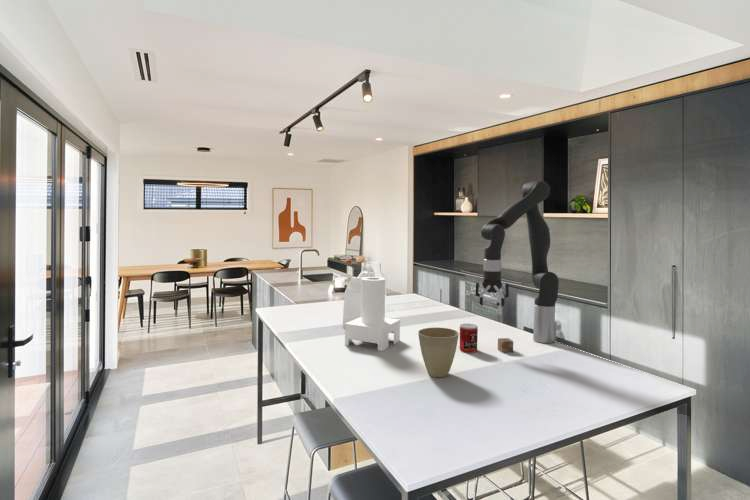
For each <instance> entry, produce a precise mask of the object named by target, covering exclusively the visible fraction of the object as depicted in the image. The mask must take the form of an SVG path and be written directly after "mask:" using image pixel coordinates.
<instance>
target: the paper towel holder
mask: <svg viewBox="0 0 750 500" xmlns="http://www.w3.org/2000/svg"><path fill="white" fill-rule="evenodd" d="M385 315H386V278H385V277H382V276H381V277H380V276H368V277H366V276H365V277H361V317H360V318H357V319H355V320H353V321H350V322H348V323H345V328H344V345H345V346H349V345H350V343H352V342H353V341H359V342H366V343H372V344H377V351H379V352H383V351H384V350H386V349H388V348H389V334H393V344H394V345H395V344H396V343H398V342H400V341H401V319H397V318H396V319H395V318H388V317H386V316H385Z"/></svg>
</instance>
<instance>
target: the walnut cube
mask: <svg viewBox="0 0 750 500" xmlns="http://www.w3.org/2000/svg"><path fill="white" fill-rule="evenodd" d="M497 350H498V351H499V352H501V354H503V353H504V354H505V353H506V354H507V353H514V340H513V339H511V338H509V337H507V338H506V337H505V338H504V337H503V338H497Z"/></svg>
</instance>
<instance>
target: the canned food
mask: <svg viewBox="0 0 750 500" xmlns="http://www.w3.org/2000/svg"><path fill="white" fill-rule="evenodd" d="M478 329H479V328H478V325H477V324H474V323H461V324H460V325H459V350H460V351H461V352H462V353H467V354H473V353H476V352H477V351H478V336H479V335H478V333H479V330H478Z"/></svg>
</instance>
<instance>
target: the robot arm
mask: <svg viewBox="0 0 750 500" xmlns="http://www.w3.org/2000/svg"><path fill="white" fill-rule="evenodd" d="M521 189H522V190H521V195H522V198H521V199H520V200H518V201H516V202H514V203H513V204H511V205H509V206H507V207H506V208H505V209H504V210H503V211H501V213H500V214H499V215H498V216H497V217H495V218H493V219H491V220H489V221H488V222H486V223H485V224H484V225H483V226H482V228H481V230H480V231H481V232H480V235H481V237H482V238H483V239H484V240H487V241H490V244H489V245H487V246H485V247H484V250H483V252H484V253H483V254H484V256H483V259H484V261H483V267H482V269H483V277H482V278H483V281H482V282H479V281H477V282H476V283H475V292H474V294H475V296H476V297H478V298H479V305H480V306H482V307H483V306H484V297H483V296H485V294H486V293H489V294H491V293H494V294H496V293H497V294H498V295H499V296H500V297H501V298H500V307H502V308H503V307H504V306H505V299H506V298H509V296H510V293H509V292H510V291H509V289H510V288H509V283H508V282H505V283H504V282H503V283H502V260H501V259H502V256H501V255H502V248H503V246H504V240H505V237H506V231H505V230H506V229H507V230H508V229H509V228H511V227H512V226H513V225H514V224H515V223H516V222H517V221H518V220H519V219H520V218H521V217H522V216H524V215H526V222H527V223H526V224H527V231H528V240H529V248H530V255H531V256H530V257H531V279H532V281H531V282H532V283H533V284H532V285H533V286H534V287H535V288H536V289H538V290H539V291H538V295H537V297H536V298H534V302H533V303H534V308H533V309H534V310H533V311H534V313H533V334H532V336H533V337H532V340H533V341H534V342H537V343H541V344H551V343H556V341H557V323H558V322H557V321H555V319H556V304H557V301H558V296H559V285H560V282H559V278H558V275H557V274H556V273H554V272H552V271H549V269H548V268H549V267H548V254H549V251H550V248H551V233H550V228H549V226H548V223H547V222H546V221H545V219H544V217H543V216H542V215H541V213H540V209H539V204H540V203H542V202H543V201H545V200H546V199H548V197H549V195H550V191H551V188H550V185H549V184H548V182H546V181H545V180H536V181H528V182H525V183H524V184H523V186H522V188H521ZM481 287H482V288H483V290H482V291H481V292H480V293H479V290H480V288H481ZM502 287H503V289H505V293H503V291H502V290H501V288H502Z"/></svg>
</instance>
